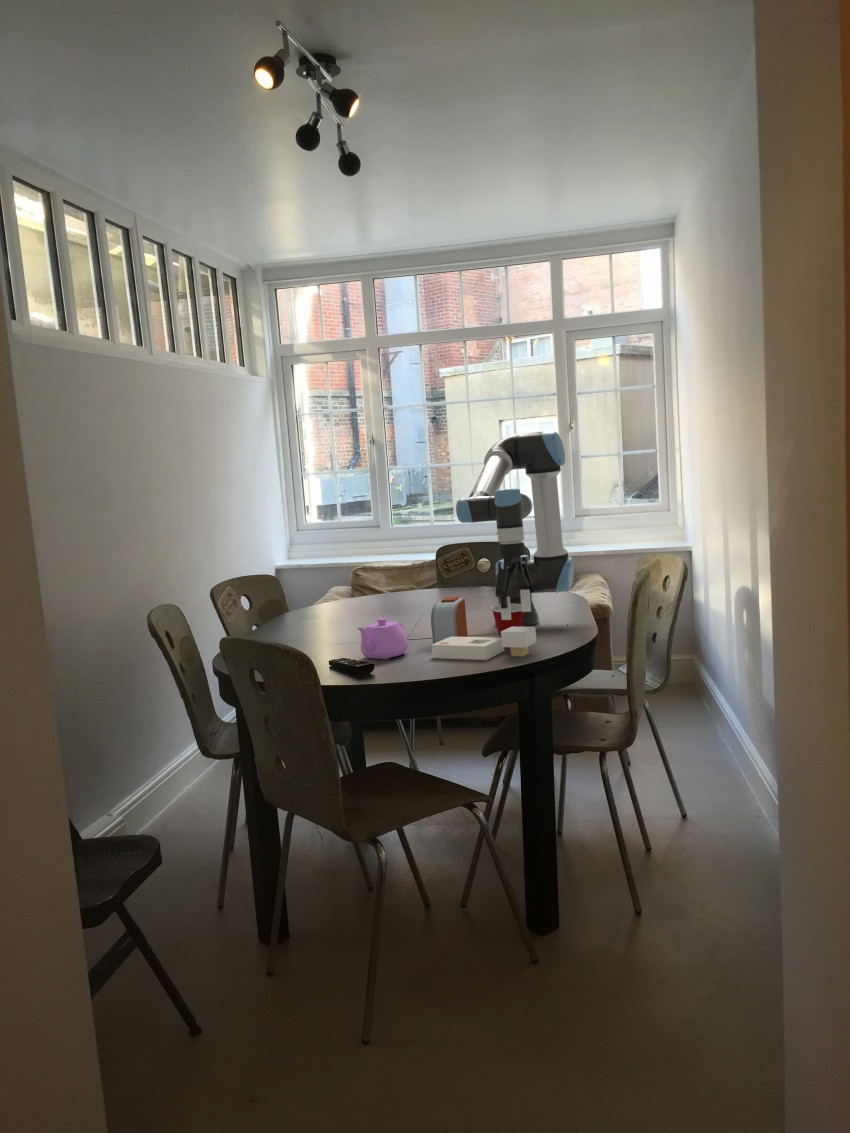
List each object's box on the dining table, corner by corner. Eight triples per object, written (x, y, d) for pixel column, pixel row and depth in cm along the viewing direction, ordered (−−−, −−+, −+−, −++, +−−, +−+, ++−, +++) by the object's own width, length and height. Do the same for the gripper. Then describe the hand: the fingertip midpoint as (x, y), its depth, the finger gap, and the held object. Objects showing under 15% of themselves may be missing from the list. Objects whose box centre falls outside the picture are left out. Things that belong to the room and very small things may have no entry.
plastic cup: (510, 649, 268) (506, 610, 267) (486, 645, 277) (483, 607, 275) (536, 642, 274) (533, 604, 273) (512, 639, 283) (509, 602, 282)
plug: (513, 651, 265) (511, 626, 264) (537, 652, 261) (535, 626, 260) (502, 657, 259) (500, 631, 258) (526, 657, 255) (524, 632, 254)
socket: (451, 649, 276) (450, 636, 276) (504, 650, 267) (503, 637, 266) (432, 658, 266) (431, 644, 266) (486, 659, 257) (485, 646, 256)
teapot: (387, 649, 286) (384, 612, 285) (420, 651, 278) (416, 614, 276) (345, 663, 270) (341, 624, 269) (378, 666, 262) (374, 626, 261)
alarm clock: (444, 636, 298) (440, 596, 297) (469, 635, 296) (465, 595, 294) (432, 646, 284) (428, 604, 283) (458, 645, 282) (454, 602, 280)
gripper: (517, 538, 269) (522, 608, 271) (479, 547, 248) (485, 623, 250) (540, 537, 265) (545, 608, 267) (503, 546, 244) (509, 623, 246)
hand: (516, 615), depth 258 cm, fingers open, 13 cm apart
